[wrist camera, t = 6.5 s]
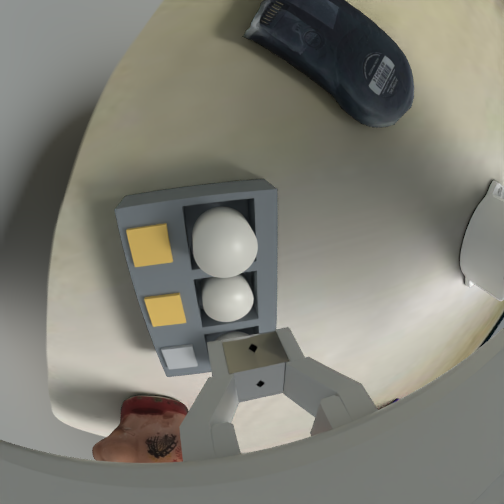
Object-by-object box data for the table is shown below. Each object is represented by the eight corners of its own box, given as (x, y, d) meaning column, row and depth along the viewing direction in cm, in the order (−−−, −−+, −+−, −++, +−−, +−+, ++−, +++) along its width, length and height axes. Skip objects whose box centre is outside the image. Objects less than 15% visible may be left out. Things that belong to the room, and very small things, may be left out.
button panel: (264, 178, 21) (278, 190, 18) (266, 337, 29) (276, 362, 26) (125, 196, 19) (113, 210, 16) (166, 352, 27) (166, 379, 24)
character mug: (243, 387, 32) (270, 481, 20) (230, 427, 37) (248, 501, 25) (90, 378, 27) (76, 475, 15) (108, 422, 32) (105, 498, 20)
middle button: (246, 261, 23) (252, 277, 20) (248, 300, 24) (254, 317, 22) (197, 268, 22) (199, 284, 20) (204, 306, 24) (206, 325, 22)
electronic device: (231, 57, 18) (382, 148, 21) (239, 23, 12) (423, 144, 16) (279, -7, 16) (408, 77, 20) (296, -41, 10) (445, 65, 14)
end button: (248, 203, 18) (256, 215, 16) (250, 255, 20) (258, 273, 18) (188, 210, 18) (188, 223, 15) (196, 263, 19) (197, 281, 17)
